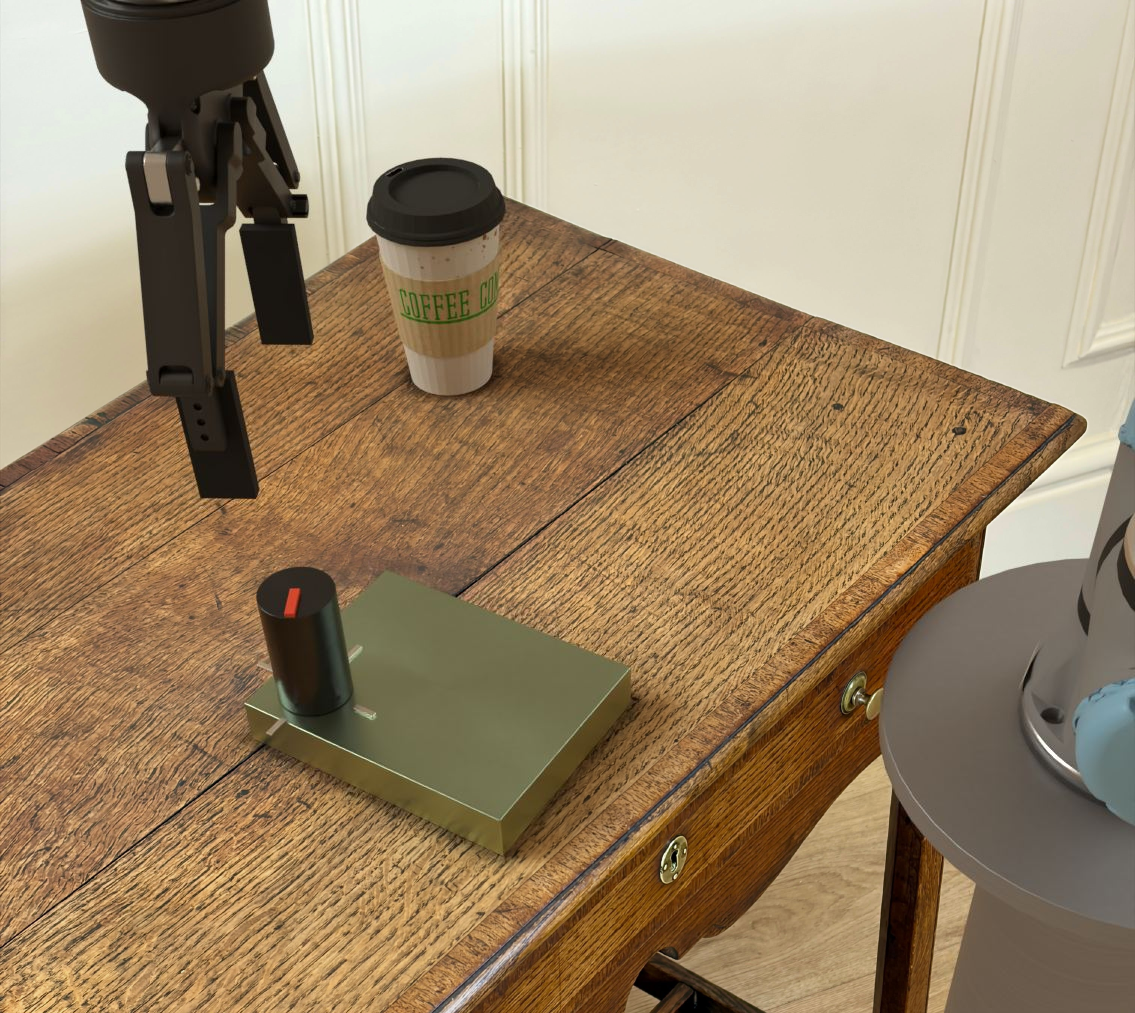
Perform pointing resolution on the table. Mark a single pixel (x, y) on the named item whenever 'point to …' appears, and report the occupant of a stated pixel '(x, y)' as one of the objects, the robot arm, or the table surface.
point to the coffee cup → (441, 267)
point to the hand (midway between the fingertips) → (260, 413)
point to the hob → (452, 711)
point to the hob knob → (305, 640)
